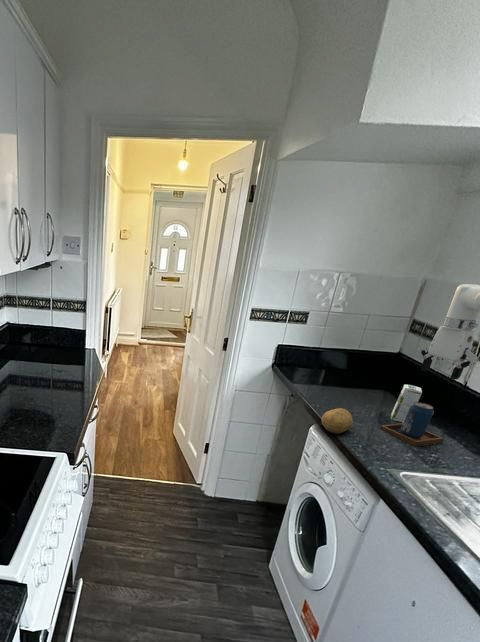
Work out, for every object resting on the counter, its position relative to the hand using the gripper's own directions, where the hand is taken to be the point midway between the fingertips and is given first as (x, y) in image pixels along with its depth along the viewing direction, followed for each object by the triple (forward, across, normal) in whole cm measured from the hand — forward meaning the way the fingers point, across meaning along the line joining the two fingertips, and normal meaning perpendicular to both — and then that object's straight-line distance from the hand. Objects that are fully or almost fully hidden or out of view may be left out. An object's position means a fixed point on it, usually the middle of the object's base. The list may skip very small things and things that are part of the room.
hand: (438, 374), depth 141 cm
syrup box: (+24, +14, -10) cm, 30 cm away
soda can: (+24, +2, 0) cm, 24 cm away
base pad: (+24, +2, 0) cm, 24 cm away
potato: (+24, +12, +26) cm, 38 cm away
